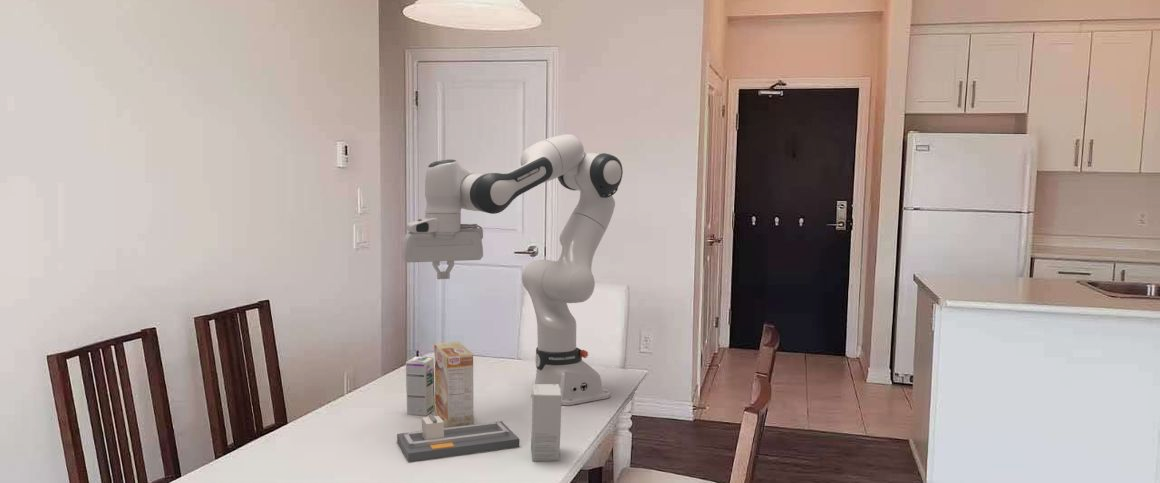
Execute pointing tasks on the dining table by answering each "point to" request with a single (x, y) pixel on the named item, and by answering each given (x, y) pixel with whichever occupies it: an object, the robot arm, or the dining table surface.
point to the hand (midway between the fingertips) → (443, 278)
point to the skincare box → (546, 422)
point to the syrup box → (420, 386)
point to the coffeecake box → (453, 384)
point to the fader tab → (432, 427)
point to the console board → (458, 441)
